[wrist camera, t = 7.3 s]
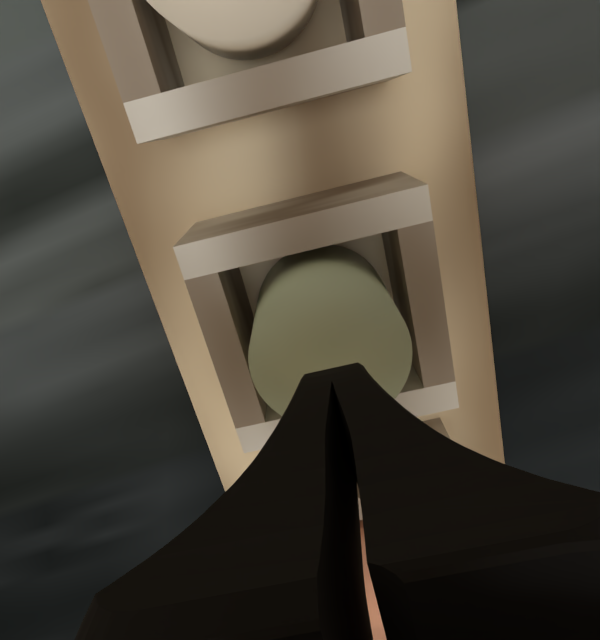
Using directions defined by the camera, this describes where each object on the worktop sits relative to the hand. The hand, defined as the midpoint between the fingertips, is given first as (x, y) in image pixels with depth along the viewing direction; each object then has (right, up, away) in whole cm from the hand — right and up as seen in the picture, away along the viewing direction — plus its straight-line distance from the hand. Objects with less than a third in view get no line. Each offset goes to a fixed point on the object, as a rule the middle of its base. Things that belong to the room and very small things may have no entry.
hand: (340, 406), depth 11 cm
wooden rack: (0, +3, +8) cm, 8 cm away
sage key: (0, +2, +6) cm, 6 cm away
